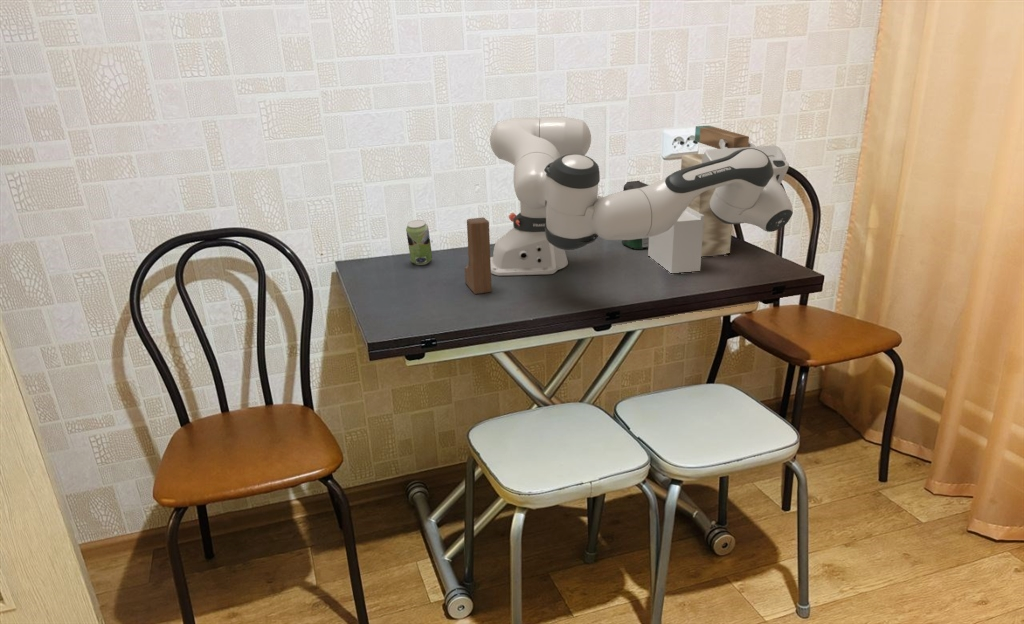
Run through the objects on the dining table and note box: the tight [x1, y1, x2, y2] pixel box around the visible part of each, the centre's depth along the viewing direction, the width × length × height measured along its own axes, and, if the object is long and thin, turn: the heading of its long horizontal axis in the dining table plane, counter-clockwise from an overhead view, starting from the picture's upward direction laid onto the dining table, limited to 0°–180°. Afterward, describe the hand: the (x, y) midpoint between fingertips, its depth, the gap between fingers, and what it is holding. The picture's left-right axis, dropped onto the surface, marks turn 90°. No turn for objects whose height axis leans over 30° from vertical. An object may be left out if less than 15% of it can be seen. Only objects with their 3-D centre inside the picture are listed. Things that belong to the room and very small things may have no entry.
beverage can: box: [405, 219, 433, 266], centre depth 205 cm, size 6×7×12 cm
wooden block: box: [464, 217, 492, 295], centre depth 184 cm, size 9×4×18 cm, turn 18°
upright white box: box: [647, 207, 704, 274], centre depth 199 cm, size 8×16×15 cm, turn 12°
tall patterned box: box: [680, 153, 733, 256], centre depth 208 cm, size 10×13×26 cm
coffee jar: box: [621, 180, 649, 250], centre depth 215 cm, size 10×8×19 cm
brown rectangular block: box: [694, 125, 750, 149], centre depth 196 cm, size 4×22×4 cm, turn 12°
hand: (731, 140), depth 190 cm, fingers closed on brown rectangular block, 4 cm apart
